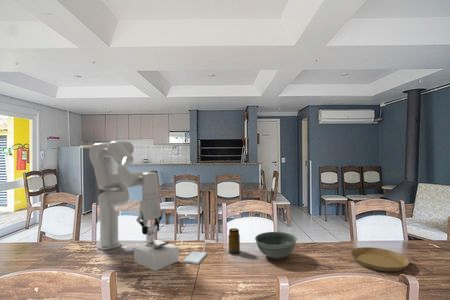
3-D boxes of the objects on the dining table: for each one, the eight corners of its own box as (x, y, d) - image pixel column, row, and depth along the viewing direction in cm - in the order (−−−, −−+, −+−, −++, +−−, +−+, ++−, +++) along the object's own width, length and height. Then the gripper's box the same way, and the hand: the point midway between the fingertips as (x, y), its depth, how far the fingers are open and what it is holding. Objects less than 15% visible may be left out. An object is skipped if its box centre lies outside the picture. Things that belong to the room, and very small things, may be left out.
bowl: (298, 267, 121) (298, 245, 121) (253, 263, 125) (253, 242, 125) (295, 250, 141) (295, 231, 141) (256, 247, 145) (256, 229, 145)
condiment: (234, 248, 145) (234, 226, 145) (245, 252, 138) (245, 230, 138) (224, 251, 140) (224, 229, 140) (235, 256, 134) (234, 233, 134)
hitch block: (133, 261, 129) (133, 247, 129) (157, 252, 140) (157, 239, 140) (154, 271, 118) (154, 255, 118) (178, 260, 129) (178, 246, 129)
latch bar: (153, 249, 126) (153, 247, 127) (161, 246, 130) (161, 244, 130) (161, 246, 123) (160, 243, 123) (169, 243, 126) (168, 241, 127)
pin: (141, 243, 131) (141, 225, 131) (152, 240, 136) (152, 223, 136) (149, 246, 127) (149, 227, 127) (160, 242, 132) (159, 224, 132)
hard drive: (192, 251, 139) (182, 260, 127) (207, 252, 137) (197, 262, 125) (192, 254, 139) (182, 263, 127) (207, 255, 137) (197, 265, 125)
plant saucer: (339, 257, 132) (339, 250, 132) (374, 250, 140) (374, 244, 140) (383, 279, 109) (383, 271, 109) (422, 269, 118) (421, 261, 118)
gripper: (159, 193, 141) (160, 227, 141) (130, 198, 128) (131, 235, 127) (168, 195, 136) (169, 229, 136) (139, 200, 123) (139, 238, 123)
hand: (150, 231), depth 132 cm, fingers closed on pin, 6 cm apart
